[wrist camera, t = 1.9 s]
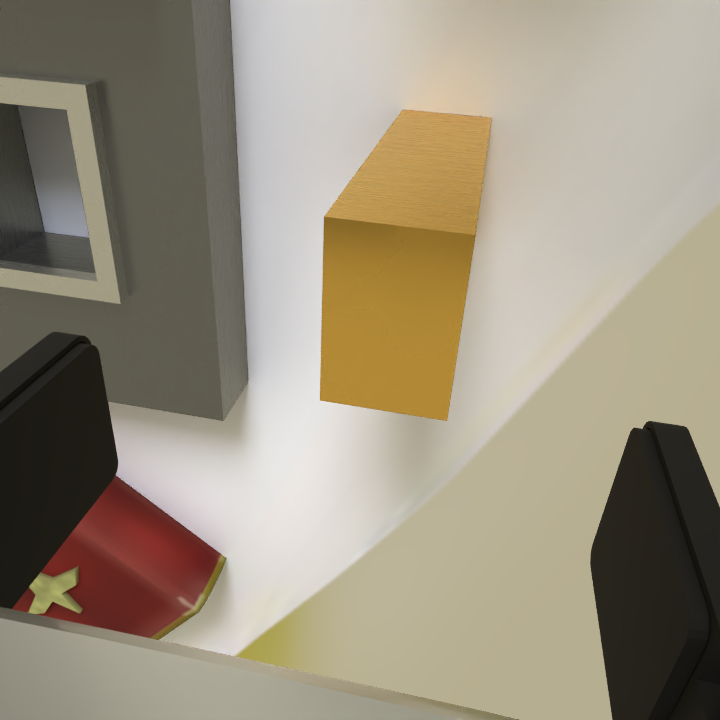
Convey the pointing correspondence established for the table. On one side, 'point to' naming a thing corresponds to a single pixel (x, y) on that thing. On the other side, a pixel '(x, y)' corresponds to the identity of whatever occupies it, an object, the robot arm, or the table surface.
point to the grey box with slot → (129, 196)
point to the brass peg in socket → (402, 266)
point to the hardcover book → (126, 569)
